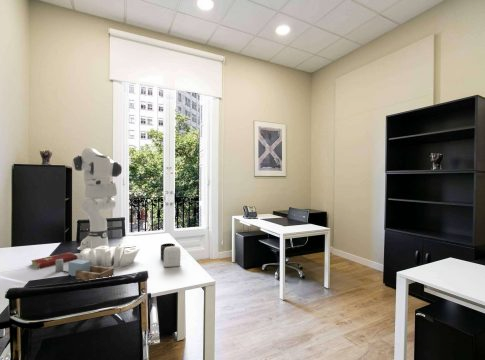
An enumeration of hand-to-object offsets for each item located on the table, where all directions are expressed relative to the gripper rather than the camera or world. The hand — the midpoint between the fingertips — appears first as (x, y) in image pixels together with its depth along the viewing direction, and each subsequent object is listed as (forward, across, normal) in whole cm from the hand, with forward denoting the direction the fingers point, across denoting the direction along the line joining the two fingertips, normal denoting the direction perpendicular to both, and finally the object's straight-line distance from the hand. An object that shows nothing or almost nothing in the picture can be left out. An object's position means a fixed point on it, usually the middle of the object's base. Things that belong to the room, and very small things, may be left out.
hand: (101, 204), depth 151 cm
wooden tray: (+39, +12, +7) cm, 41 cm away
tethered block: (+39, +12, -4) cm, 41 cm away
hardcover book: (+40, +1, -36) cm, 54 cm away
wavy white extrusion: (+39, -8, -2) cm, 40 cm away
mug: (+39, -29, +28) cm, 57 cm away
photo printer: (+39, -17, +38) cm, 57 cm away
